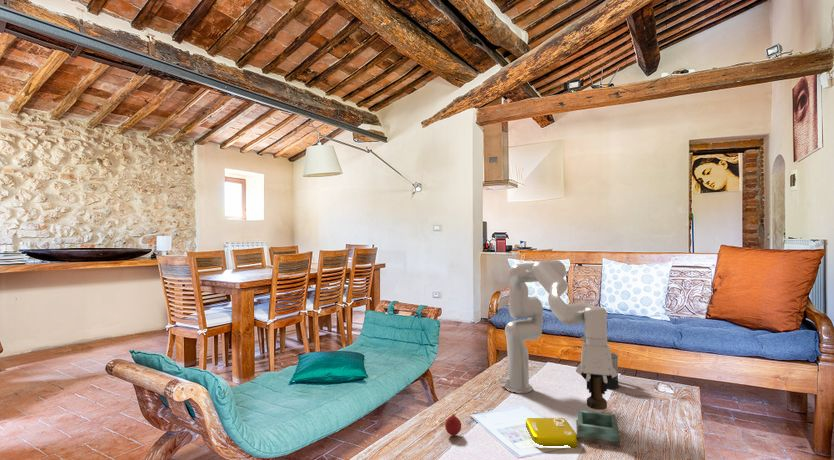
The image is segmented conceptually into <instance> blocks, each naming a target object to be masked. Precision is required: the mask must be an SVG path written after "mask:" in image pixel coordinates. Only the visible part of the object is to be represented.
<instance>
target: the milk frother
mask: <svg viewBox="0 0 834 460" xmlns="http://www.w3.org/2000/svg"><path fill="white" fill-rule="evenodd" d="M618 357H619V355H618V354H617V353H615V352H611V359H612V366H613V368H614V369H615V371H616V372H617V374H618V375H617V376H616V377H614V378H612V379H611V380H609V381H608V383H607V390H616V389H619V388H620V386H619V385H620V384H619V368H618V367H619V361H618V360H619V359H618ZM585 374H586V373H585ZM590 377H591V375H590ZM590 380H591V378H590ZM602 381H603V375H602Z"/></svg>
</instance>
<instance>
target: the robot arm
mask: <svg viewBox="0 0 834 460" xmlns="http://www.w3.org/2000/svg"><path fill="white" fill-rule="evenodd" d="M566 274H567V269H566V266H565V264H564V263H563V262H562V261H561V260H558V259H551V260H550V259H549V260H546V259H545V260H539V261H537V262H529V263H528V262H526V263H517V264H514V265H511V267H510V268H509V270H508V272H507V281H508V284H509V285H508V286H509V298H508V312H509V315H510V317H511V318H513V319H515V320H512V321H509V322H508V323H507V324H506V325H505V328H504V334H505V340H506V348H507V349H506V351H507V354H506V355H507V377H500V376H499V377H498V382H500V384H504V389H505V388H506V389H507V390H508V392H510V391H511V392H510V393H513V392H516V393H515V394H528V392H529V393H531V392H532V391H533V386H532V384H530V376H529V375H530V373H529V372H530V371H529V368H530V367H529V362H530V361H529V349H528V347H527V346H526V344H525V342H526V341H528V342H529V341H533V340H538V339H539V338H541V336H542V333H543V320H544V319H543V317H544V316H543V314H544V309H543V304H542V301H541V300H540V298H538V297H536V296H529V288H528V286H527V283H535V282H538V283H539V284H540V285H541V287H543V289H544V290H545V291H546V292H547V293H548V297H547V298H548V306H549V309H550V311H551V312H552V313H553V315H554V316H555V317H556V319H557V320H558V321H560V322H561V323H562V324H564V325H568V326H570V325H579V324H583V328H584V332H583V333H584V336H580V339H579V340H580V342H583V343H582V346H581V355H580V358H581V359H580V363H579V365H578V366H577V367H576V368H575V372H576V373H577V374H579V375H580V376H582V377H583V379H584V380H585V381H586V390H588V393H589V394H591V380H590V379H591V376H590V375H591V374H594V375H603V381H602V393H603V395H606V392H607V391H608V389H607V383H608V381H609V380H611V379H612V378H614V377H616V376H617V375H618V376H619V373H618V374H617V372H616V371H615V369H614V368H613V366H612V359H611V353H612V352H611V347H610V346H609V345H608V320H607V319H608V318H607V317H608V315H607V313H608V312H607V309H606V308H604V307H602V306H597V305H593V304H591V303H589V302H578V303H577V302H576V303H575V302H574V303H568V304H567V303H565V301H564V300H563V299H562V298H561V296H562V295H563V294H565V293H566V291H567V289H568V282H567V281H566V279H564V278H565V276H566ZM516 319H520V320H516ZM585 373H586V374H585ZM506 389H505V390H506ZM507 390H506V391H507ZM530 391H531V392H530Z"/></svg>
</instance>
